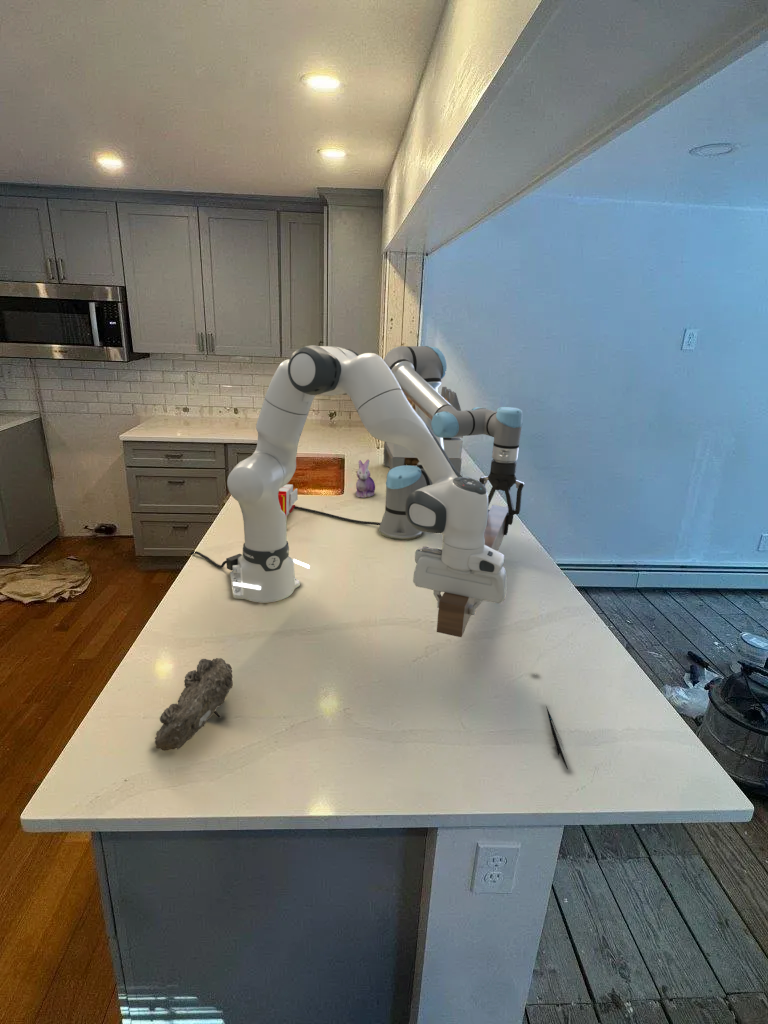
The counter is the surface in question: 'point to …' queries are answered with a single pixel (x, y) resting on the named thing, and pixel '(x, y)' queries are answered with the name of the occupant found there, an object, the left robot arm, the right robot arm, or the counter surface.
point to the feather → (556, 737)
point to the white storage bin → (404, 456)
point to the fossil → (195, 703)
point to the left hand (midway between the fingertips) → (456, 610)
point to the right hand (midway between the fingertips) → (495, 531)
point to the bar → (456, 606)
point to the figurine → (364, 481)
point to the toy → (287, 498)
